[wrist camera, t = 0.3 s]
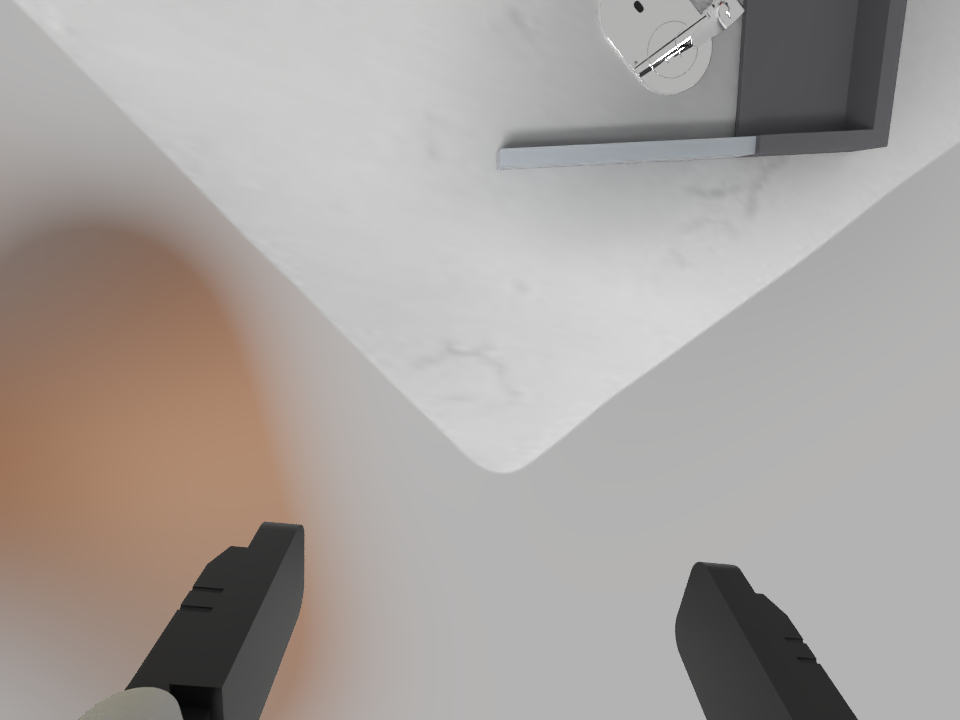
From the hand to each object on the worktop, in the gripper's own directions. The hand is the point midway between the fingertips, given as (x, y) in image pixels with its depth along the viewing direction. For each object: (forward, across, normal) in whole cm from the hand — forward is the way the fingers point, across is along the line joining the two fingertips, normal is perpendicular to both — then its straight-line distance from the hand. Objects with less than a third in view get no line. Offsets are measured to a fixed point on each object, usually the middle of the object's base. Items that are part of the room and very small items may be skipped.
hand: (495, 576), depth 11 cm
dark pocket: (+30, -18, -18) cm, 39 cm away
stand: (+30, -9, -16) cm, 35 cm away
